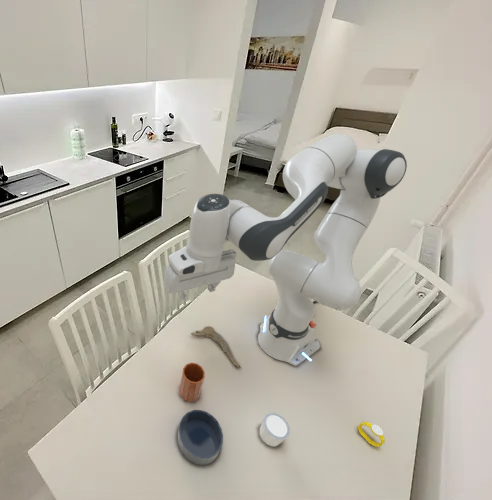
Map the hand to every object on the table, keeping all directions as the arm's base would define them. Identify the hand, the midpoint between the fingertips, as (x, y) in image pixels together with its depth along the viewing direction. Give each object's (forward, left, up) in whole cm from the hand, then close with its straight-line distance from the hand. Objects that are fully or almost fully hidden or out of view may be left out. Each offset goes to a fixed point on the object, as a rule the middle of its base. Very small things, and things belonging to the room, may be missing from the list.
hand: (196, 294), depth 81 cm
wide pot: (+8, +24, -33) cm, 42 cm away
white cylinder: (-12, +30, -33) cm, 46 cm away
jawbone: (-12, 0, -33) cm, 35 cm away
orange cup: (+4, +11, -33) cm, 35 cm away
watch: (-38, +40, -33) cm, 64 cm away
